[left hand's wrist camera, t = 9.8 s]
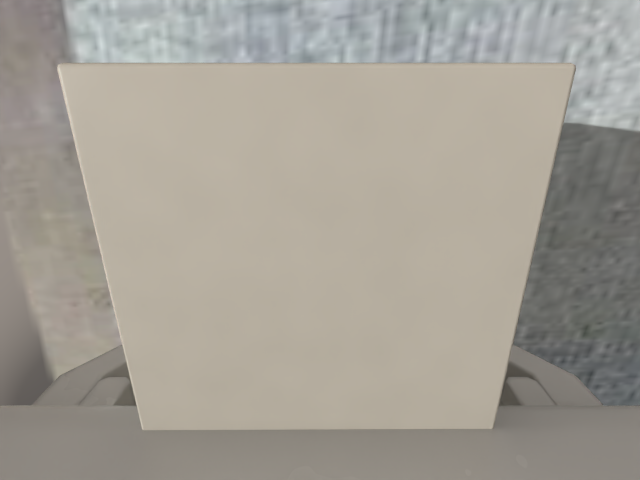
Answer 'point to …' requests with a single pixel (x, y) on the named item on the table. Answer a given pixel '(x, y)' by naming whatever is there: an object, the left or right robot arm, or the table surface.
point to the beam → (317, 234)
